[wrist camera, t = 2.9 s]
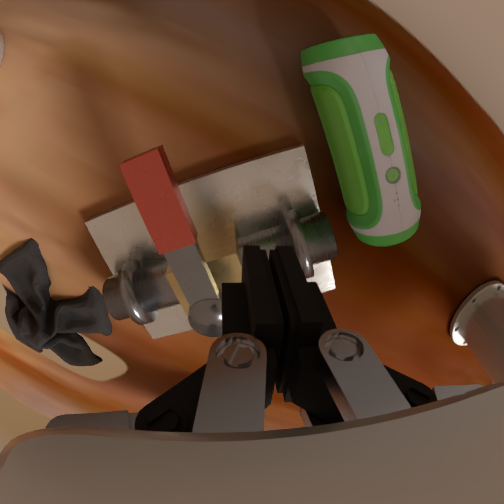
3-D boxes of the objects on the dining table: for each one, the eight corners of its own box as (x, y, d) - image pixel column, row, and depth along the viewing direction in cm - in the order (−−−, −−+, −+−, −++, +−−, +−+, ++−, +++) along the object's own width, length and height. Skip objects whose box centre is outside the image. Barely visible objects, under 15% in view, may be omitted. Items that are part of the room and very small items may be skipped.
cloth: (4, 218, 29) (-24, 243, 23) (134, 289, 35) (121, 324, 29) (-4, 333, 37) (-20, 359, 32) (93, 385, 43) (84, 415, 37)
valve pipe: (301, 143, 28) (323, 160, 21) (332, 282, 35) (352, 324, 29) (84, 220, 29) (54, 254, 23) (149, 333, 37) (139, 377, 31)
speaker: (400, 202, 31) (438, 232, 25) (340, 224, 32) (368, 261, 26) (359, 39, 23) (398, 28, 17) (286, 56, 24) (307, 45, 17)
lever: (240, 306, 27) (243, 330, 24) (201, 317, 27) (199, 342, 24) (173, 138, 20) (165, 145, 17) (126, 157, 20) (111, 168, 17)
